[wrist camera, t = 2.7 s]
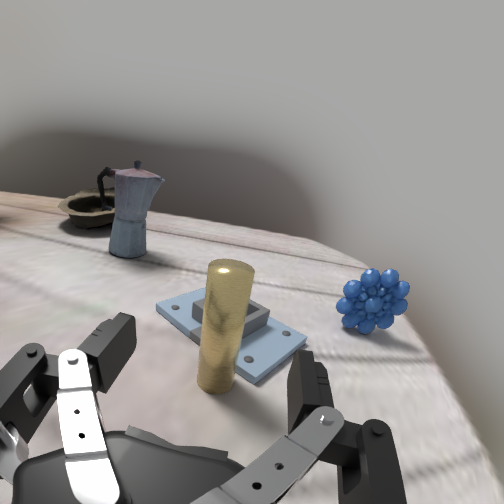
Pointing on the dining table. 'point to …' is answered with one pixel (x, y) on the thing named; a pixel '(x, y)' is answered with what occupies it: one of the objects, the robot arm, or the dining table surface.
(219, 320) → the pin
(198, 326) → the square socket mounting plate
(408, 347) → the dining table surface
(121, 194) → the moka pot
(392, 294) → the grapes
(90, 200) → the stone bowl
